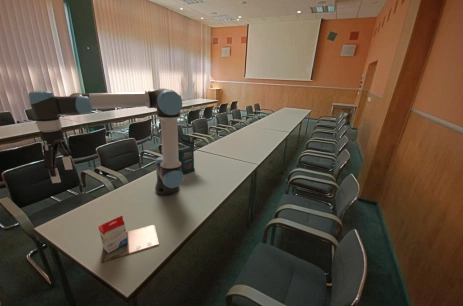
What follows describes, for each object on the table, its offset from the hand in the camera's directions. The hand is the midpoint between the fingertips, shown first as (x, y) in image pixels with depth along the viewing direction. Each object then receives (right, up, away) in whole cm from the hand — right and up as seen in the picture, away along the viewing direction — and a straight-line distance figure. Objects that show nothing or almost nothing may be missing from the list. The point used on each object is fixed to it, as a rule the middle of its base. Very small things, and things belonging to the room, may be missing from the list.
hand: (63, 175), depth 93 cm
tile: (+35, -30, +2) cm, 46 cm away
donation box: (+36, -4, +71) cm, 79 cm away
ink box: (+26, -31, -3) cm, 40 cm away
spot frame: (+26, -31, -3) cm, 40 cm away
